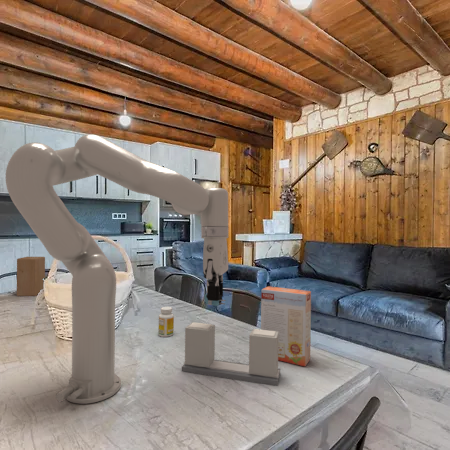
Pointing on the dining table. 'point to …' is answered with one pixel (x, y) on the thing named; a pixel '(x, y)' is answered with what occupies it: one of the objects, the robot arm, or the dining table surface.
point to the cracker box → (288, 322)
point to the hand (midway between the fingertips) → (215, 297)
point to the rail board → (253, 372)
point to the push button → (207, 295)
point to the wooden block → (30, 275)
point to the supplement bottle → (166, 322)
